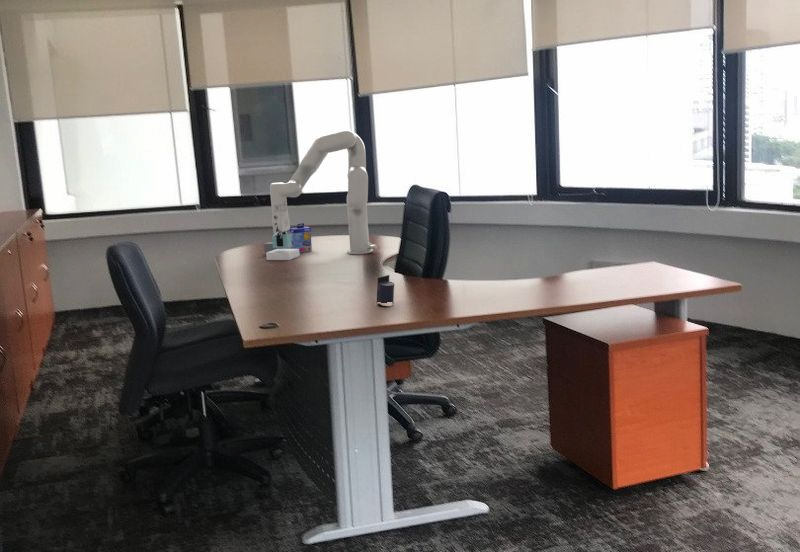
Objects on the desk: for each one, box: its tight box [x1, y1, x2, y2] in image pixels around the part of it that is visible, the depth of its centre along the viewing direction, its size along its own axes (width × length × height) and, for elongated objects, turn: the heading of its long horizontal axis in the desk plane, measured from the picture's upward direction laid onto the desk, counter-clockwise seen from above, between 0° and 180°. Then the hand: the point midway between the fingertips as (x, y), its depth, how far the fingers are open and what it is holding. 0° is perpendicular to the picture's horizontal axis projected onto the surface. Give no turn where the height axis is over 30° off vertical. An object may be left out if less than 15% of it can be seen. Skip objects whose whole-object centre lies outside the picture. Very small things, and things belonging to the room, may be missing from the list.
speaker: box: [376, 274, 395, 303], centre depth 324 cm, size 8×6×10 cm
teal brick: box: [271, 233, 292, 249], centre depth 442 cm, size 8×4×6 cm, turn 71°
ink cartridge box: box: [289, 222, 313, 253], centre depth 460 cm, size 10×6×14 cm, turn 121°
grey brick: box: [263, 241, 284, 256], centre depth 456 cm, size 8×4×6 cm, turn 71°
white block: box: [265, 248, 301, 261], centre depth 444 cm, size 12×12×4 cm
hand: (282, 245), depth 443 cm, fingers closed on teal brick, 4 cm apart
